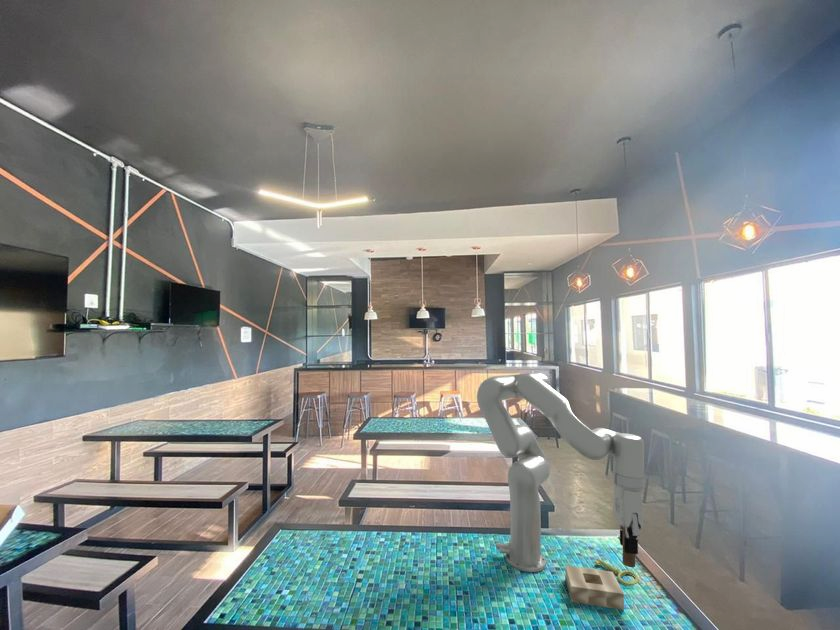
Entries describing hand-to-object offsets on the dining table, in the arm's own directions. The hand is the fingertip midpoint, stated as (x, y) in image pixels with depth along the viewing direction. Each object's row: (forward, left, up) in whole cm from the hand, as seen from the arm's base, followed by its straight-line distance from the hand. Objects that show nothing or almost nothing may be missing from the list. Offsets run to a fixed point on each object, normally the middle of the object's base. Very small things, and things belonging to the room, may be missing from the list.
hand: (628, 548), depth 101 cm
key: (+1, +14, -15) cm, 20 cm away
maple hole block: (-9, +2, -14) cm, 17 cm away
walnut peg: (0, 0, -4) cm, 4 cm away
